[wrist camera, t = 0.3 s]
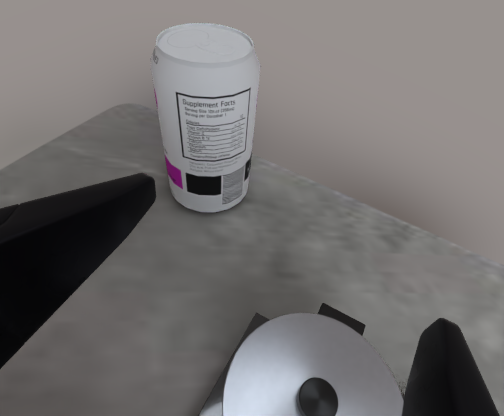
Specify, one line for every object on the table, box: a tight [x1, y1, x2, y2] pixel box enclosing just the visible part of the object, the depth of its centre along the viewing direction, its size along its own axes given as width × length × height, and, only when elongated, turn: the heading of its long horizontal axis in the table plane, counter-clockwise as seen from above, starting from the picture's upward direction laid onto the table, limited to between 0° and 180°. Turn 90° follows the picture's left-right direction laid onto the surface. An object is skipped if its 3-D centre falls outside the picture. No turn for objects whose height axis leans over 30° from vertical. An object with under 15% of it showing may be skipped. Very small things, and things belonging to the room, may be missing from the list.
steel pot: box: [222, 303, 404, 416], centre depth 18 cm, size 12×10×6 cm
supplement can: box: [151, 23, 261, 212], centre depth 28 cm, size 8×8×15 cm
